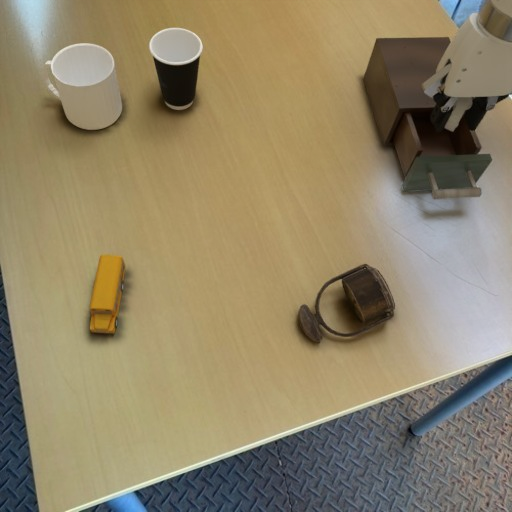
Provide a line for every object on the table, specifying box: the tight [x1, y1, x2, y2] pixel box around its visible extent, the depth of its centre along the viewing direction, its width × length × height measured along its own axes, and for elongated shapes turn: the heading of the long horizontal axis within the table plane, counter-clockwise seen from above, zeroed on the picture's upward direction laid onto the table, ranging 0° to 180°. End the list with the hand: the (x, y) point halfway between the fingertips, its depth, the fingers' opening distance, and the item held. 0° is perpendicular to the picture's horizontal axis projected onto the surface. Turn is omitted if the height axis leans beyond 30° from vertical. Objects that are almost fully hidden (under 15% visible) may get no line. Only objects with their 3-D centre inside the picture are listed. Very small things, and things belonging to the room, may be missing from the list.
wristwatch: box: [444, 97, 472, 132], centre depth 77 cm, size 3×5×5 cm, turn 152°
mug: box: [40, 42, 123, 131], centre depth 85 cm, size 12×9×9 cm
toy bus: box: [89, 254, 126, 335], centre depth 71 cm, size 3×10×4 cm, turn 178°
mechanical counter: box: [298, 263, 396, 343], centre depth 71 cm, size 7×13×10 cm
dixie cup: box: [148, 27, 204, 111], centre depth 86 cm, size 8×8×11 cm
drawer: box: [392, 110, 493, 200], centre depth 84 cm, size 19×11×7 cm, turn 7°
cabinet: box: [363, 36, 475, 147], centre depth 90 cm, size 16×13×9 cm
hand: (452, 123), depth 79 cm, fingers closed on wristwatch, 4 cm apart
